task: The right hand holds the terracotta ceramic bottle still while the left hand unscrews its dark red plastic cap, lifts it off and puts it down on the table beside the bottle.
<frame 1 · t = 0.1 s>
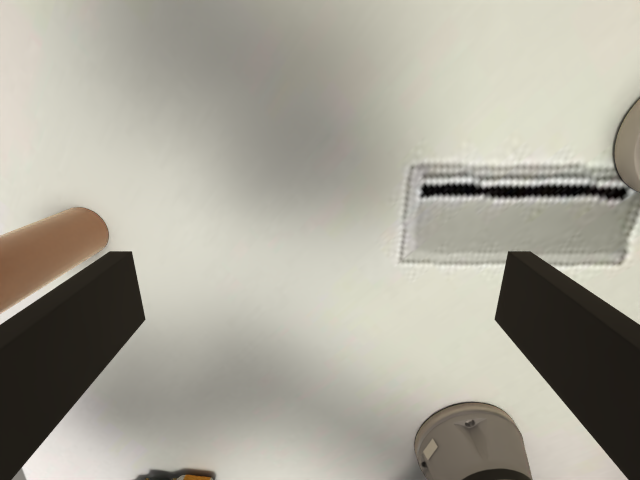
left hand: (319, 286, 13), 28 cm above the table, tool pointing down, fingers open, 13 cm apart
bottle: (83, 230, 42), on the table
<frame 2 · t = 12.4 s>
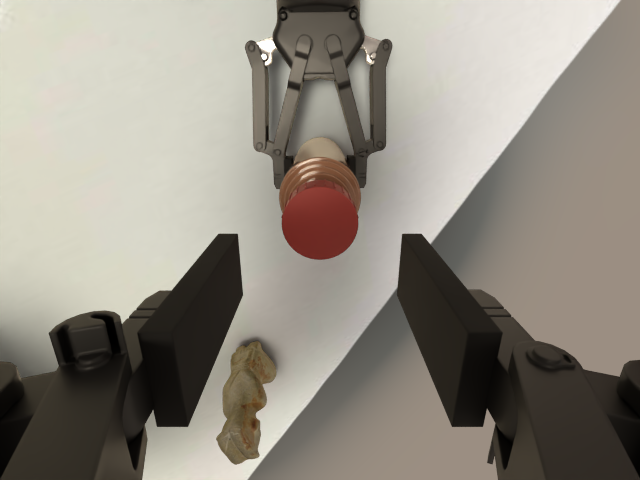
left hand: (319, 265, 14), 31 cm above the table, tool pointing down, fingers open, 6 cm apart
right hand: (320, 216, 39), fingers closed on bottle, 6 cm apart
sculpture: (256, 355, 53), on the table
cap: (319, 223, 20), point 25 cm above the table, screwed on, not yet turned
bottle: (320, 161, 43), on the table, touching right hand
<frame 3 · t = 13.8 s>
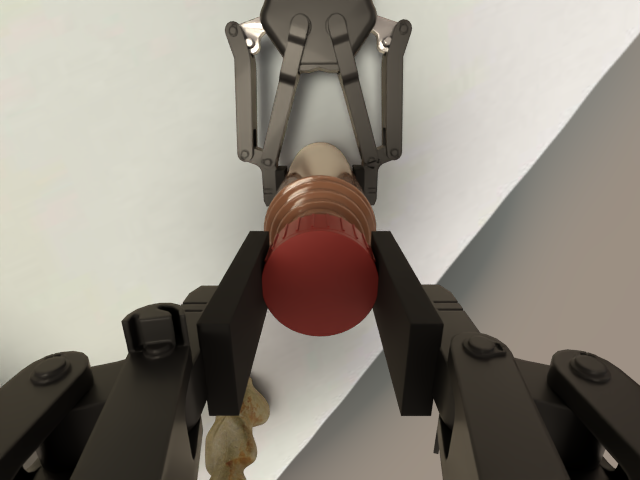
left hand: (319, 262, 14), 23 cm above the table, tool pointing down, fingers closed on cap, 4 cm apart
right hand: (320, 239, 32), fingers closed on bottle, 6 cm apart
sculpture: (247, 391, 46), on the table
cap: (320, 283, 13), point 25 cm above the table, screwed on, not yet turned, touching left hand
bottle: (320, 171, 36), on the table, touching right hand
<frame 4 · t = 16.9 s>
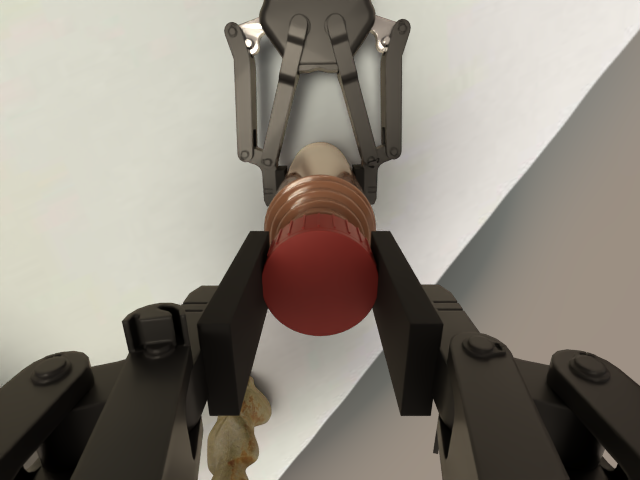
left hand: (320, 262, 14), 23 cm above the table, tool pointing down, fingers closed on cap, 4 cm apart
right hand: (321, 238, 32), fingers closed on bottle, 6 cm apart
sculpture: (248, 391, 46), on the table
cap: (320, 282, 13), point 25 cm above the table, turned 84° so far, risen 0.1 cm, still on its thread, touching left hand
bottle: (320, 171, 36), on the table, touching right hand
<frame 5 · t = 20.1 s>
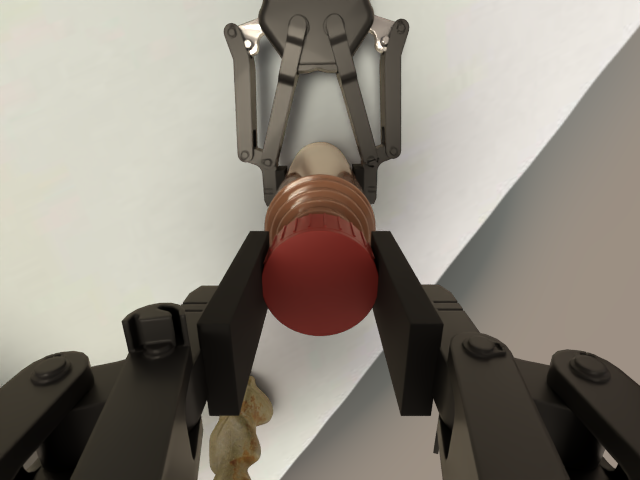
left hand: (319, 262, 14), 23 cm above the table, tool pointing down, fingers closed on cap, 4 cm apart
right hand: (321, 238, 32), fingers closed on bottle, 6 cm apart
sculpture: (250, 391, 46), on the table
cap: (320, 282, 13), point 25 cm above the table, turned 167° so far, risen 0.2 cm, still on its thread, touching left hand
bottle: (320, 171, 36), on the table, touching right hand
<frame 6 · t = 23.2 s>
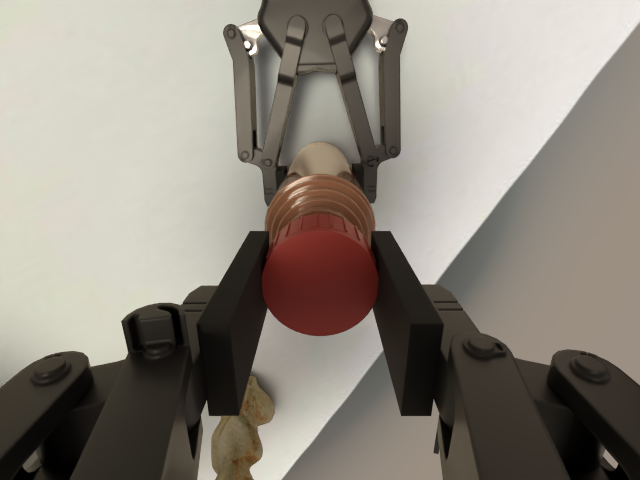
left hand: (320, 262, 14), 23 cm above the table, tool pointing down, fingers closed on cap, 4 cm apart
right hand: (321, 238, 32), fingers closed on bottle, 6 cm apart
sculpture: (252, 391, 46), on the table
cap: (320, 282, 13), point 25 cm above the table, turned 251° so far, risen 0.3 cm, still on its thread, touching left hand
bottle: (320, 170, 36), on the table, touching right hand
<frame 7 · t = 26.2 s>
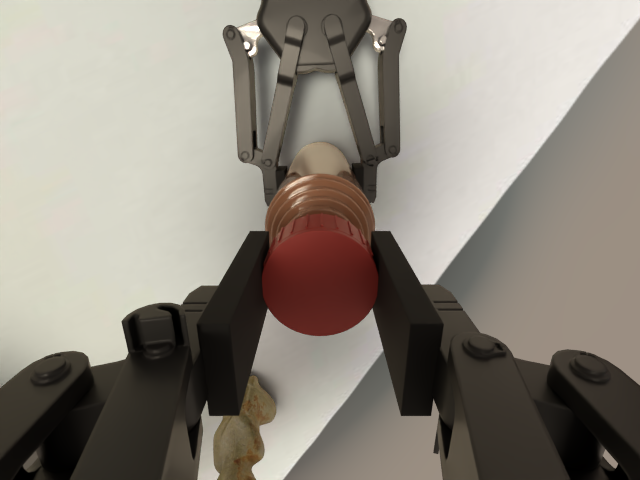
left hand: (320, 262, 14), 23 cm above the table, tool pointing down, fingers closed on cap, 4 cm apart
right hand: (322, 237, 32), fingers closed on bottle, 6 cm apart
sculpture: (253, 391, 46), on the table
cap: (320, 282, 13), point 25 cm above the table, turned 335° so far, risen 0.4 cm, still on its thread, touching left hand
bottle: (320, 170, 36), on the table, touching right hand
when the left hand's fingers open (2 cm above the table, at t = 35.8 s): cap drops 2 cm, point 2 cm above the table.
when the right hand's fingers open (6 cm above the table, at t = 36.9 s): bottle stays where it is, on the table.
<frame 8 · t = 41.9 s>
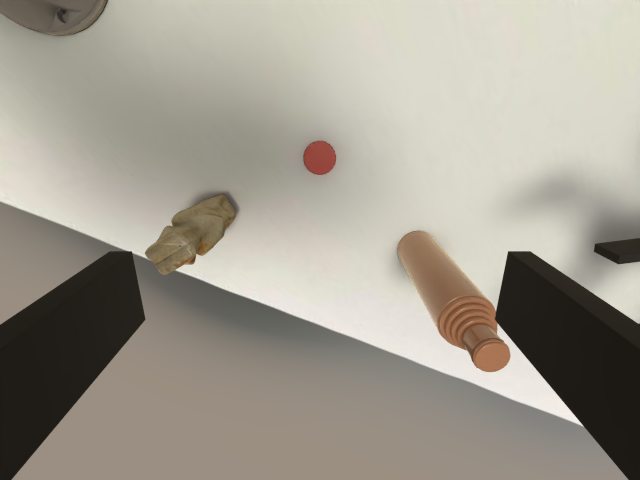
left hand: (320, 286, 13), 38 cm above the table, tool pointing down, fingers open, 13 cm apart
sculpture: (215, 212, 51), on the table
cap: (319, 158, 46), point 2 cm above the table, off its thread
bottle: (416, 249, 53), on the table
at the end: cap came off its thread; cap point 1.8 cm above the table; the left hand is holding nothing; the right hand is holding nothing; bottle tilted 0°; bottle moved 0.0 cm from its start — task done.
